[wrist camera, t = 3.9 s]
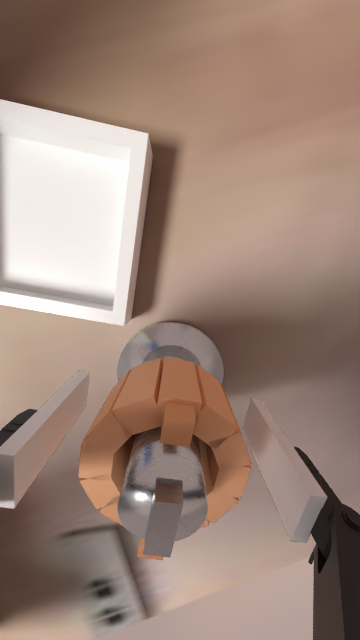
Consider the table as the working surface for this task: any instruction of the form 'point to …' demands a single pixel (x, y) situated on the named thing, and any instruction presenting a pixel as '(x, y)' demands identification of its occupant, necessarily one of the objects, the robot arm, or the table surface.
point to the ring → (165, 434)
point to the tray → (70, 213)
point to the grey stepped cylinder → (165, 449)
